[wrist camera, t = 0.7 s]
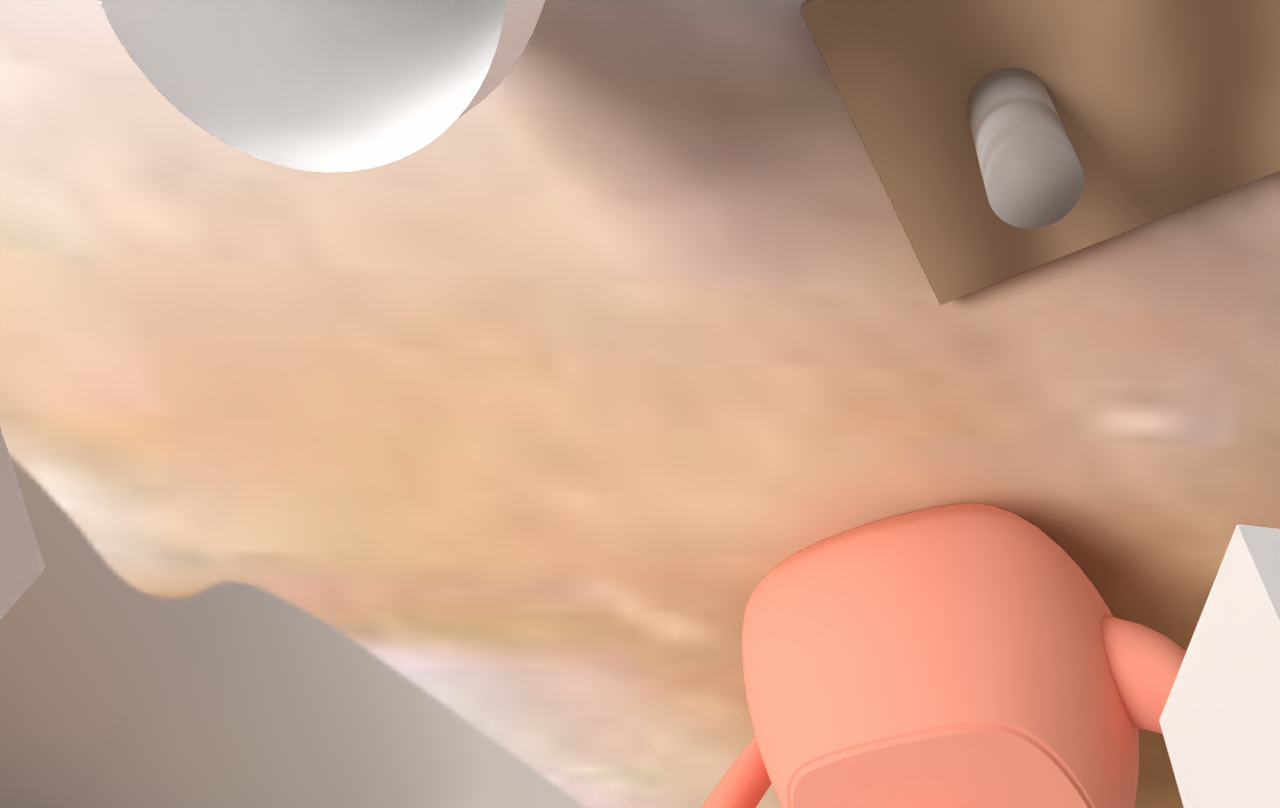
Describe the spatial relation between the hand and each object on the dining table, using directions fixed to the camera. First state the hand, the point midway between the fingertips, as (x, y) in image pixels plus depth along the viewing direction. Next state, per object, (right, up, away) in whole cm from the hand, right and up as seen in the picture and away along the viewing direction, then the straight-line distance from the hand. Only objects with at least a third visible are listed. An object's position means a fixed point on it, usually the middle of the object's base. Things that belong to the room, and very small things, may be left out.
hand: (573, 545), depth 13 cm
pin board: (+15, +12, +19) cm, 27 cm away
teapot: (+12, -6, +32) cm, 34 cm away
